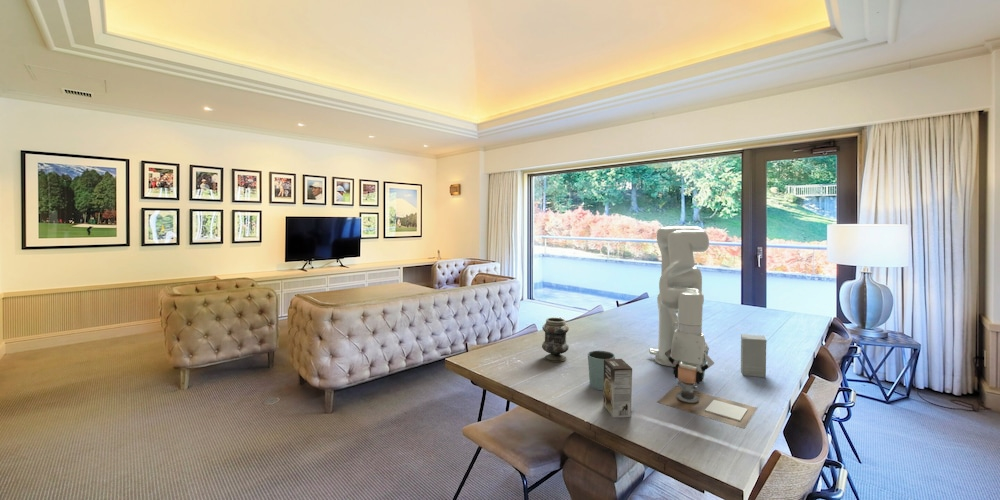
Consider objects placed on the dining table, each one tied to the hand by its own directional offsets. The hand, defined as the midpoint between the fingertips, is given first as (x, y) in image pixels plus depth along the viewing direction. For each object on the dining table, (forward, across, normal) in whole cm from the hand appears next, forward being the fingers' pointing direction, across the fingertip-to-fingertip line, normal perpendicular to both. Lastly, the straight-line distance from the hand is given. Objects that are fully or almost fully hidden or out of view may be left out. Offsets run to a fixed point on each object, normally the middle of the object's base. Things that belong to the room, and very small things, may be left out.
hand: (687, 379), depth 138 cm
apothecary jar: (+8, -59, +6) cm, 60 cm away
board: (+8, +6, 0) cm, 10 cm away
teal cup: (+8, -29, -7) cm, 31 cm away
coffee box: (+8, -15, -22) cm, 28 cm away
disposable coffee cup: (+8, -5, +22) cm, 24 cm away
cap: (0, 0, 0) cm, 0 cm away
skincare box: (+8, +11, +44) cm, 46 cm away
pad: (+7, +12, 0) cm, 14 cm away
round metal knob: (+7, 0, 0) cm, 7 cm away
